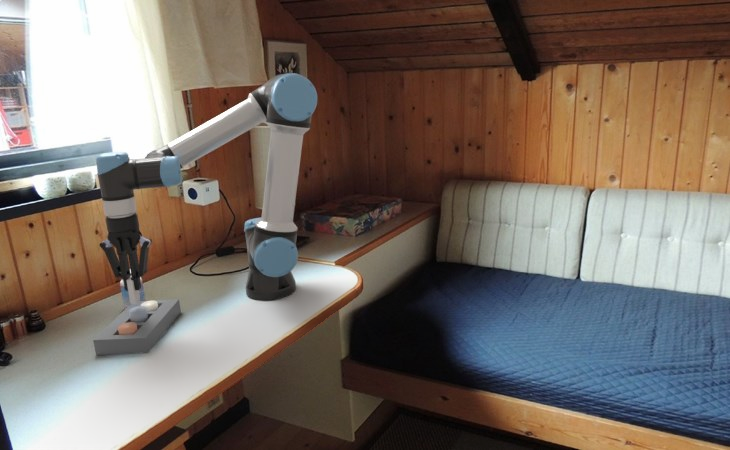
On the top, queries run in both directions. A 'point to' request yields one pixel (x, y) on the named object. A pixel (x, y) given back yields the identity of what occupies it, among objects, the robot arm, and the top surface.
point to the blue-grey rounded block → (138, 314)
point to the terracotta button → (127, 328)
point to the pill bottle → (126, 294)
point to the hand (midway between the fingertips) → (135, 301)
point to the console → (146, 332)
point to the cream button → (150, 305)
